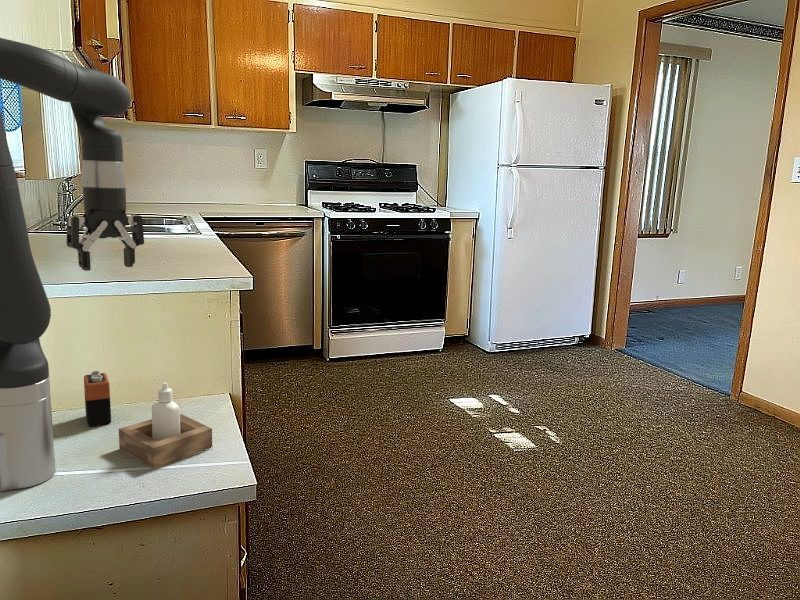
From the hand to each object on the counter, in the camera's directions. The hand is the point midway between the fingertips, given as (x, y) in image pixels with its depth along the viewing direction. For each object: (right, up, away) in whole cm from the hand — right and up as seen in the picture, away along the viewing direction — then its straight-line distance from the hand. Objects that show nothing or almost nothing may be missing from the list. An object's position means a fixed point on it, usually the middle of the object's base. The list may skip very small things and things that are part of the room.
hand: (108, 268), depth 122 cm
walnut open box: (+13, -35, -5) cm, 38 cm away
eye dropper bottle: (+14, -34, -5) cm, 37 cm away
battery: (-5, -31, +7) cm, 33 cm away
